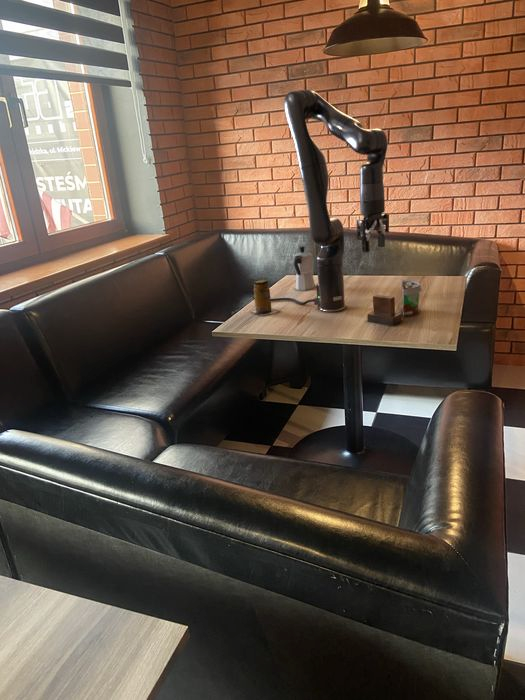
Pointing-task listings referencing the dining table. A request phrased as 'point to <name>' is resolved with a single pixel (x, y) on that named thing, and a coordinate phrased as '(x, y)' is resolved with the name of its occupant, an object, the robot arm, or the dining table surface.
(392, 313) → the brown stepped block
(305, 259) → the coffee maker
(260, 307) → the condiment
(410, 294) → the food container
